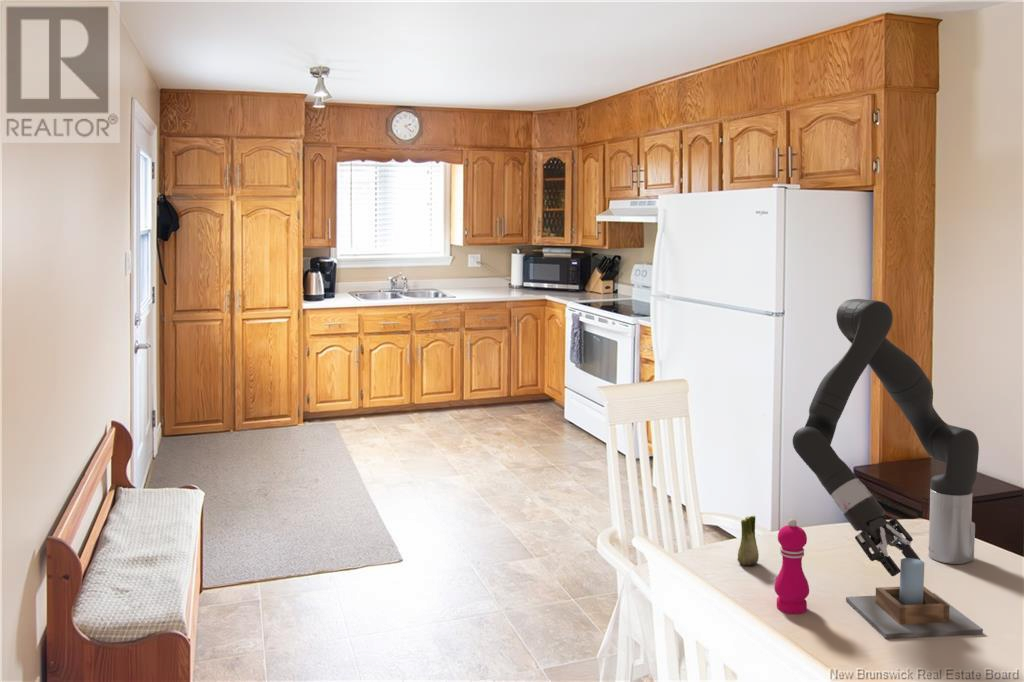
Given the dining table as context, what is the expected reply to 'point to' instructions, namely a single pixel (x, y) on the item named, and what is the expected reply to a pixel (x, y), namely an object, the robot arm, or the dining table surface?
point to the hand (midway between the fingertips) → (907, 569)
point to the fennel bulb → (748, 543)
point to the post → (911, 581)
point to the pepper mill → (792, 570)
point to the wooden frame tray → (911, 615)
